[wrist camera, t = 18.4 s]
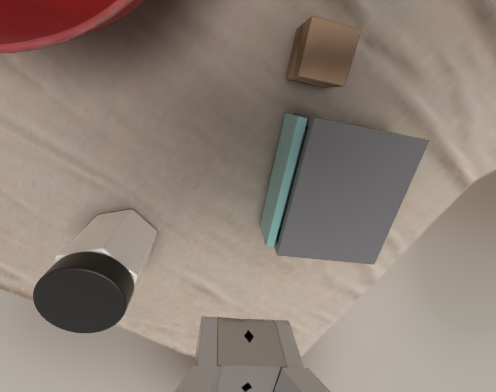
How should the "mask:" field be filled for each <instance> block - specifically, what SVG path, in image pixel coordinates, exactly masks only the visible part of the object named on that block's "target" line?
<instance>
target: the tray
mask: <svg viewBox="0 0 496 392" xmlns="http://www.w3.org/2000/svg"><path fill="white" fill-rule="evenodd" d="M307 119H308V118H304V117H300V116H296V115H292V114H287V113H285V117H284V121H283V126H282V130H281V134H280V139H279V143H278V148H277V152H276V156H275V161H274V165H273V169H272V174H271V178H270V183H269V187H268V191H267V196H266V200H265V204H264V209H263V213H262V218H261V222H260V228H261V231H262V234H263V237H264V241H265V244H266V246H268V247H274V245H275V241H276V238H277V234H278V230H279V228H282V225H283V221H284V218H285V214H286V210H287V206H288V202H289V199H290V195H291V191H292V187H293V184H294V180H295V176H296V172H297V169H298V165H299V161H300V157H301V153H302V150H303V146H304V142H305V138H306V135H307V131H308V129H305V126H306V123H307Z"/></svg>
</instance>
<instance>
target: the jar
mask: <svg viewBox="0 0 496 392" xmlns="http://www.w3.org/2000/svg"><path fill="white" fill-rule="evenodd" d="M156 235H157V230H155V229H154V228H153V227H152V226H151V225H150V224H149V223H148V222H146V221H145V220H144V219H143V218H142V217H141V216H140V215H139V214H138V213H136V212H135V211H134V210H133V209H130V210H124V211H118V212H111V213H105V214H99V215H97V216H96V217H95V218H94V219H93V220H92V221H91V222H90V223H89V224H88V225H87V226H86V227H85V228H84V229H83V230H82V231H81V232H80V233H79V234H78V235H77V236H76V237H75V238H74V239H73V240H72V241H71V242H70V243H69V244H68V245H67V246H66V247H65V248H64V249H63V250H62V251H61V252H60V253H59V254H58V255H57V256H56V258H55V263H54V265H53V266H52V267H51V268H50V269H49V270H48V271H47V272H46V273H45V274H44V276H43V277H42V278H41V279H40V280H39V281H38V282H37V284H36V286H35V288H34V292H33V299H34V304H35V306H36V308H37V310H38V312H39V313H40V314H41V316H42V317H43V318H45V319H46V320H47V321H48V322H50V323H51V324H53V325H55V326H56V327H59V328H61V329H64V330H67V331H71V332H76V333H95V332H100V331H103V330H106V329H108V328H110V327H112V326H114V325H115V324H116V323H118V322H119V321H120V320H121V318H122V317H123V315H124V314H125V311H126V309H127V307H128V305H129V303H130V301H131V299H132V296H133V294H134V292H135V289H136V287H137V285H138V282H139V280H140V278H141V275H142V273H143V271H144V269H145V266H146V264H147V262H148V259H149V257H150V254H151V251H152V248H153V245H154V242H155V239H156Z"/></svg>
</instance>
